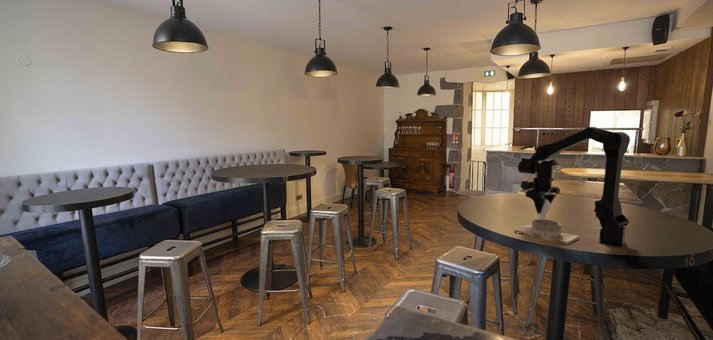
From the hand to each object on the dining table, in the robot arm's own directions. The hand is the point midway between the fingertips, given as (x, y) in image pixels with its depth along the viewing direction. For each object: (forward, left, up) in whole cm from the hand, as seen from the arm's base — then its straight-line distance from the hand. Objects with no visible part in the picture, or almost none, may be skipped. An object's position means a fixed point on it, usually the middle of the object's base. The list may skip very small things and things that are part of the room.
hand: (542, 212), depth 144 cm
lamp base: (-7, +12, -6) cm, 15 cm away
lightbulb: (0, 0, -5) cm, 5 cm away
